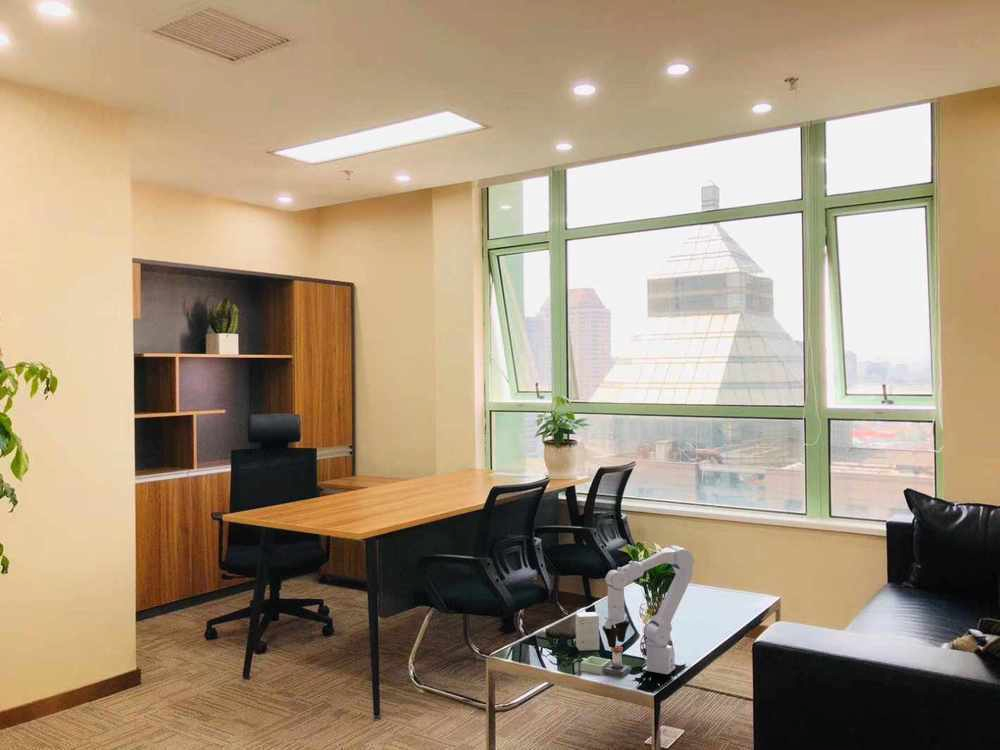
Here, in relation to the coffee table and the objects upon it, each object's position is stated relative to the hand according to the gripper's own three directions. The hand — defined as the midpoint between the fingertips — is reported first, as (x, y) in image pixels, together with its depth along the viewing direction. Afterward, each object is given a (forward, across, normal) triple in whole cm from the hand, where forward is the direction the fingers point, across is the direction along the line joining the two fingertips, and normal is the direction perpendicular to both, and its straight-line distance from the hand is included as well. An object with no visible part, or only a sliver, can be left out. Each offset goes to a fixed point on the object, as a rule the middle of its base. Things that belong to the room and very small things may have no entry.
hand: (616, 644), depth 287 cm
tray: (+10, 0, -8) cm, 13 cm away
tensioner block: (+10, 0, 0) cm, 10 cm away
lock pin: (+10, 0, 0) cm, 10 cm away
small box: (+10, -21, -22) cm, 32 cm away
